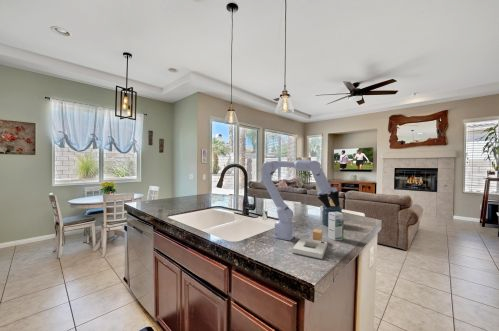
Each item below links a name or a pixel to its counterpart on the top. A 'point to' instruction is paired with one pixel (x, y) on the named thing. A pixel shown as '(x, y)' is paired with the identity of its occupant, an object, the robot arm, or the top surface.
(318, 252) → the white cutout panel
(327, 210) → the canister
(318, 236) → the plug
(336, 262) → the top surface
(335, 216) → the syrup box
